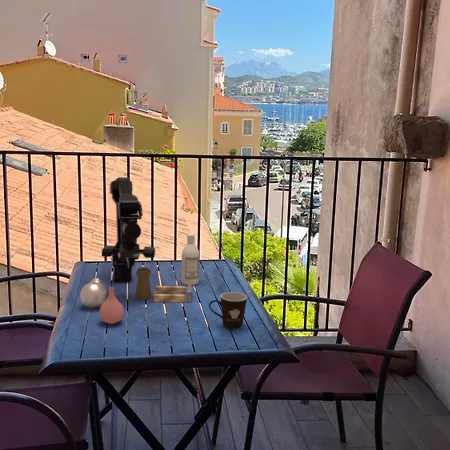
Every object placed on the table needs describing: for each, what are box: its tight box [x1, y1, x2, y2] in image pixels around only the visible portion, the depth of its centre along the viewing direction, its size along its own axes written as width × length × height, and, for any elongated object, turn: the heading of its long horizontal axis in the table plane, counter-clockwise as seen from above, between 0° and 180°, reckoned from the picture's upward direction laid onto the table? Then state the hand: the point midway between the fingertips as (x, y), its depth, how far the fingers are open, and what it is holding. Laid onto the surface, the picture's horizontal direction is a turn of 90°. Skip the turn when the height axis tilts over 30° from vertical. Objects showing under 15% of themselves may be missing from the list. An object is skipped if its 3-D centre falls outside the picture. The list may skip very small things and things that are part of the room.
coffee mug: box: [208, 291, 248, 330], centre depth 184 cm, size 12×9×10 cm
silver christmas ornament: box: [79, 277, 108, 309], centre depth 194 cm, size 9×10×10 cm
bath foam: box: [180, 233, 200, 286], centre depth 223 cm, size 7×7×20 cm
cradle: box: [152, 283, 192, 304], centre depth 207 cm, size 14×10×4 cm
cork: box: [134, 266, 153, 301], centre depth 206 cm, size 6×6×11 cm
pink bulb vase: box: [98, 286, 125, 325], centre depth 181 cm, size 8×8×12 cm
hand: (128, 274), depth 205 cm, fingers closed
